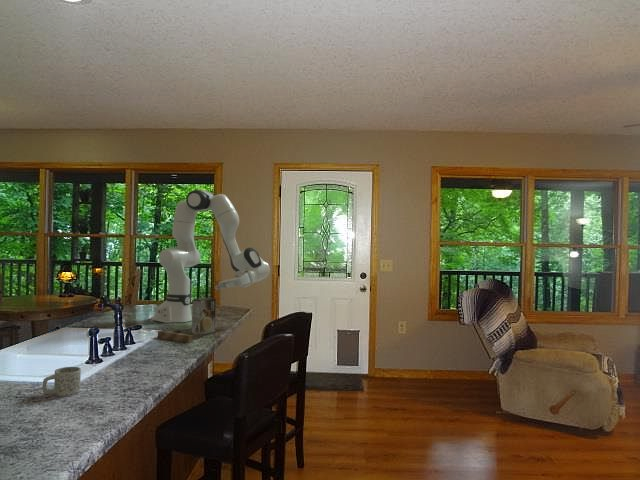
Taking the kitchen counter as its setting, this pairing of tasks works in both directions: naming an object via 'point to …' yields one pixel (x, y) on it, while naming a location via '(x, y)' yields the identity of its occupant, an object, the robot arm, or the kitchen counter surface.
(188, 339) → the walnut dock
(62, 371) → the mug
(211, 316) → the coffee box
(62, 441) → the kitchen counter surface
